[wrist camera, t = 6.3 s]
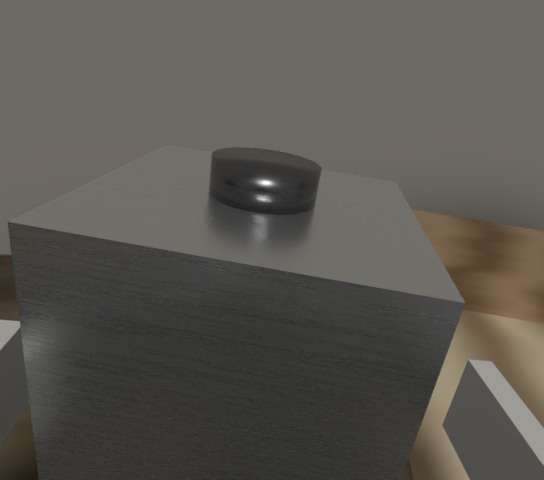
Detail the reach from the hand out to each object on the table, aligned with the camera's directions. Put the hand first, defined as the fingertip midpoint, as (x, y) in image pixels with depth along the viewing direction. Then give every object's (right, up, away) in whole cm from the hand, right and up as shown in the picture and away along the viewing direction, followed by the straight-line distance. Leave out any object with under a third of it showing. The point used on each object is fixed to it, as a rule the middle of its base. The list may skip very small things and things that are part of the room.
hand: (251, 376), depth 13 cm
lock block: (-1, -8, +2) cm, 8 cm away
